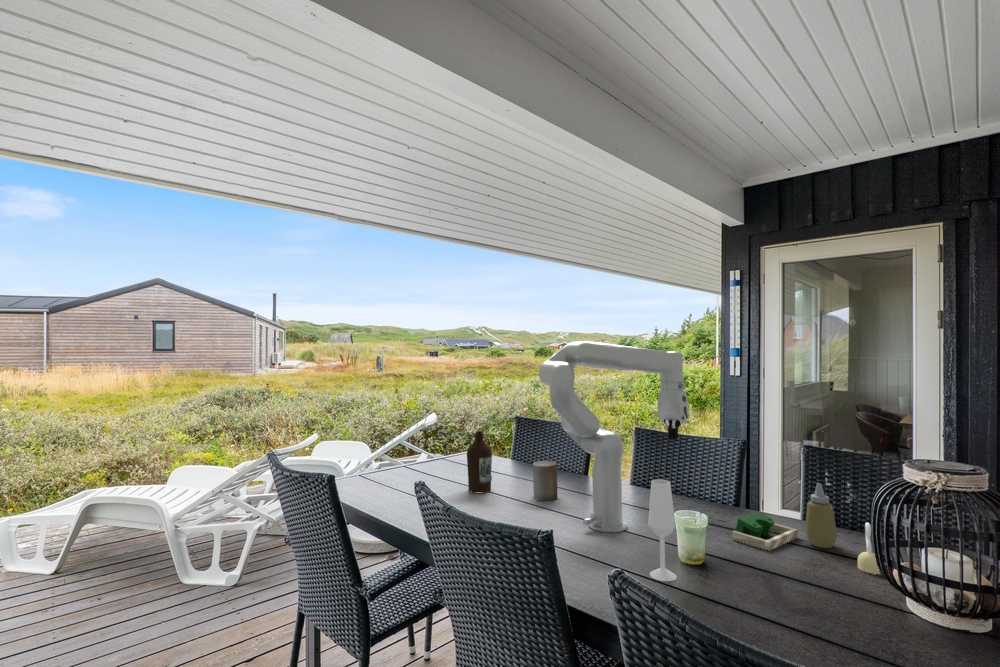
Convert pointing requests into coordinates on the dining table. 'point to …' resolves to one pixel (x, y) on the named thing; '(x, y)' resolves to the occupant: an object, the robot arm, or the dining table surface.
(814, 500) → the squeeze bottle
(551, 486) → the pillar candle
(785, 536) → the keeper bracket
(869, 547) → the pale yellow handled piece
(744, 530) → the clamp
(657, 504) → the champagne flute
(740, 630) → the dining table surface
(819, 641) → the dining table surface
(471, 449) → the olive oil
